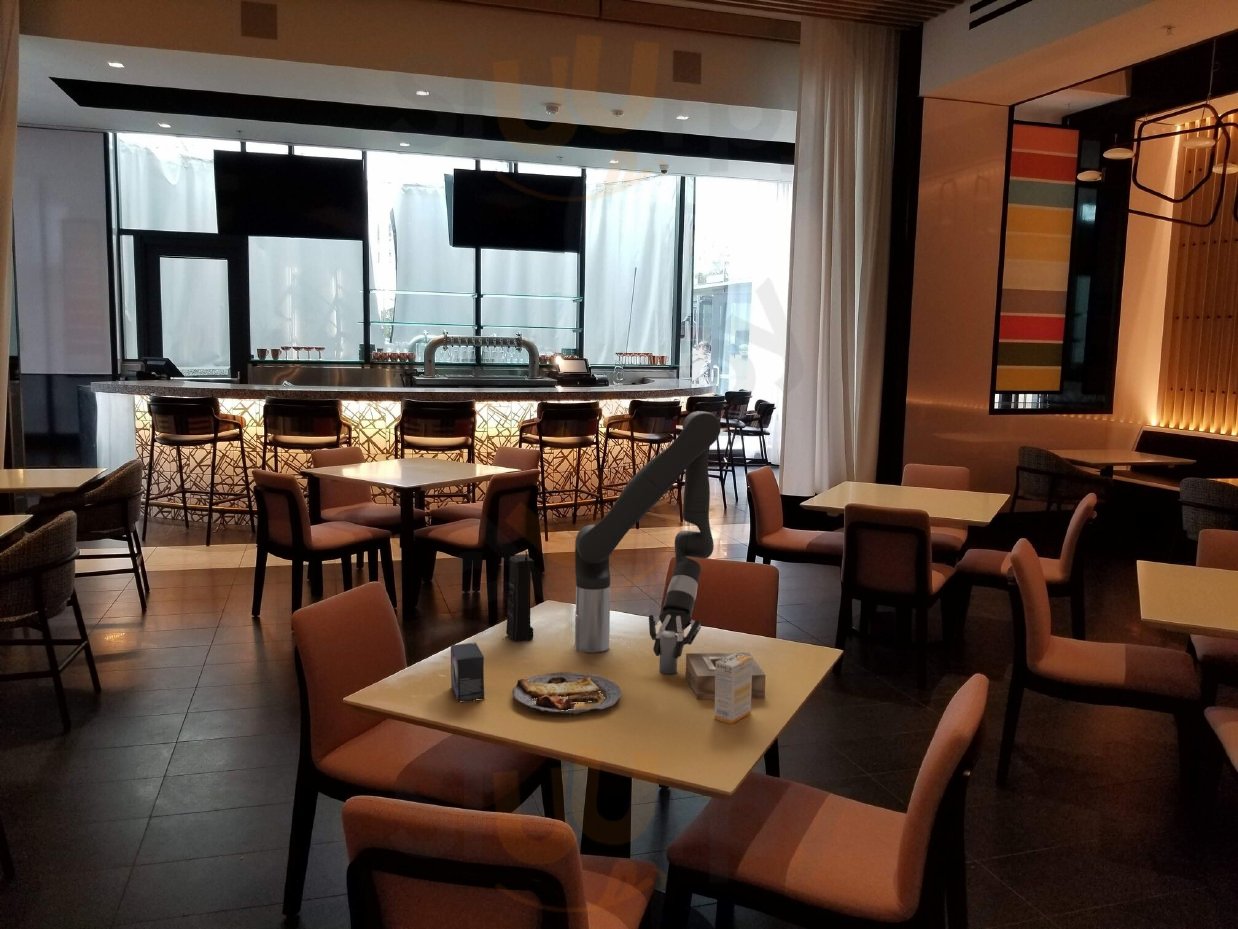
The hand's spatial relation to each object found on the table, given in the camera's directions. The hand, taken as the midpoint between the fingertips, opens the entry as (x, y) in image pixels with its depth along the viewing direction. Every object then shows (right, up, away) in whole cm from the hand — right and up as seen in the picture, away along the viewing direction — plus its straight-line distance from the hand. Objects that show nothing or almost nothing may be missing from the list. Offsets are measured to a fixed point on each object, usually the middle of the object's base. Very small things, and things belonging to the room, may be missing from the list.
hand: (666, 655), depth 224 cm
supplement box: (+13, -8, -26) cm, 30 cm away
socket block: (+13, -6, -7) cm, 16 cm away
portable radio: (-40, -1, +28) cm, 48 cm away
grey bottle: (+1, -4, +2) cm, 5 cm away
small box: (-47, -6, -15) cm, 50 cm away
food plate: (-24, -7, -17) cm, 30 cm away
